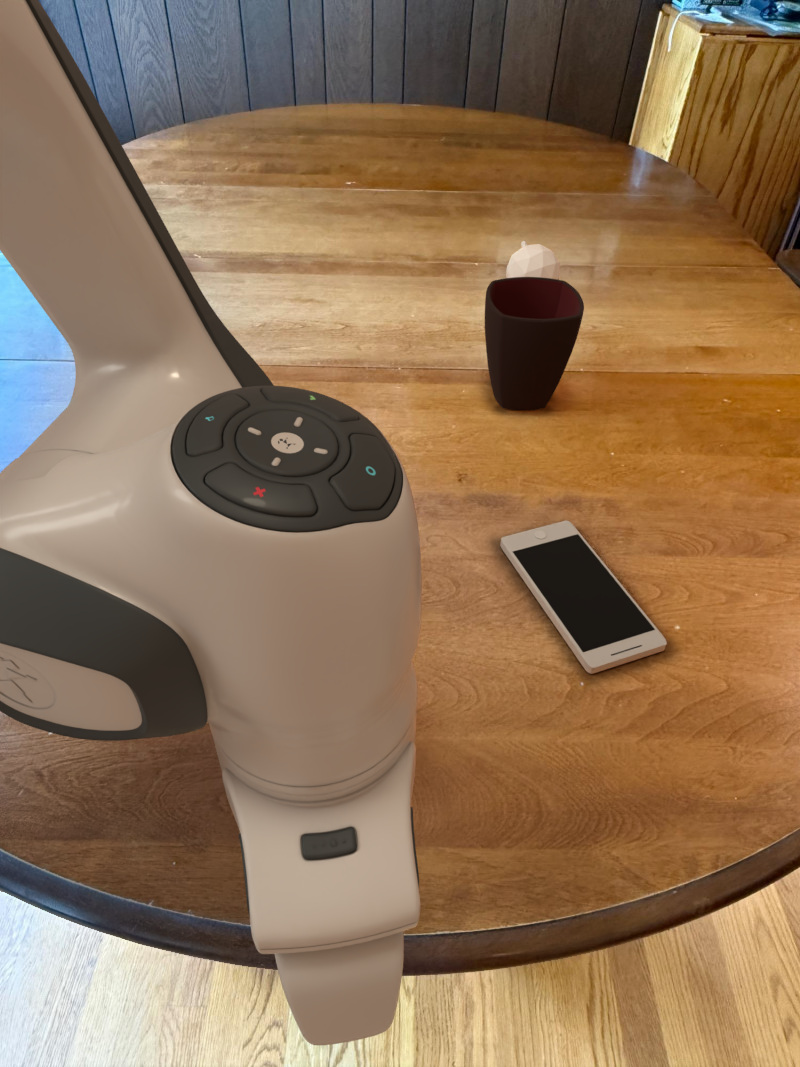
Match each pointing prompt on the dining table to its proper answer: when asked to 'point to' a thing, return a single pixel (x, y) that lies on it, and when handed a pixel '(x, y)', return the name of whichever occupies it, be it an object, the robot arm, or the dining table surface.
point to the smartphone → (582, 597)
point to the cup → (529, 338)
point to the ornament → (533, 262)
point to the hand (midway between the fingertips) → (331, 866)
